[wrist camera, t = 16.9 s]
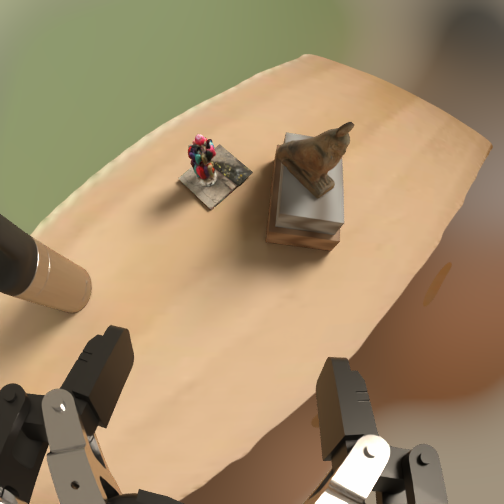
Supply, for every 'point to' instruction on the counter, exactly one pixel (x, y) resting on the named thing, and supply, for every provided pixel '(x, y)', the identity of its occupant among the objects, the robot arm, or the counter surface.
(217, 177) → the statue
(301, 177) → the brown carved statuette
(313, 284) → the counter surface
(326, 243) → the grey and brown block
